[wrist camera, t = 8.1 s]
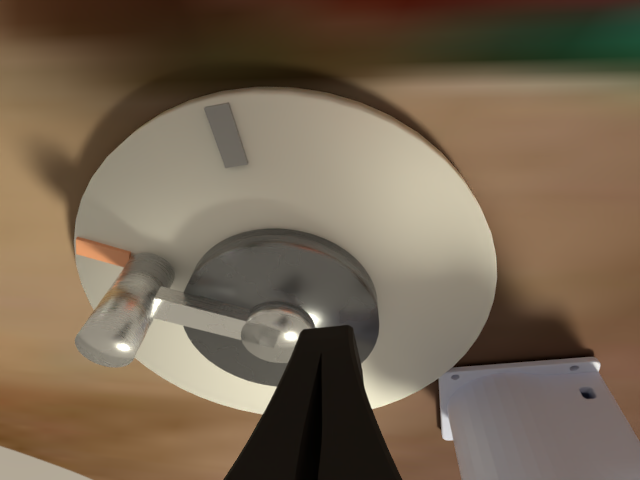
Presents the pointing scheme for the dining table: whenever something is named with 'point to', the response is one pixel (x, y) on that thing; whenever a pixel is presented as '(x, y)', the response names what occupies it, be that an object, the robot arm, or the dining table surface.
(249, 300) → the dial
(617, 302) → the dining table surface
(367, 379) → the dial plate
